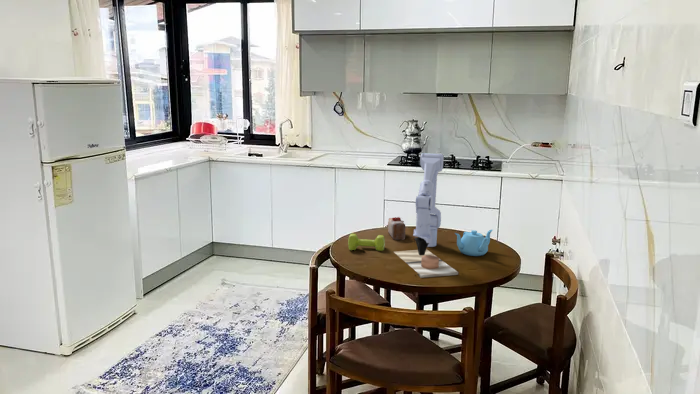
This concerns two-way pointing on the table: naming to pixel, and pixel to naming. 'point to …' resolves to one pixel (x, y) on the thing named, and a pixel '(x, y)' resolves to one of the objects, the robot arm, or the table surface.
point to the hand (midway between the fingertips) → (421, 254)
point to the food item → (396, 228)
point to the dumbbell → (366, 242)
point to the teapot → (473, 243)
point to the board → (415, 262)
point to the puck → (430, 262)
